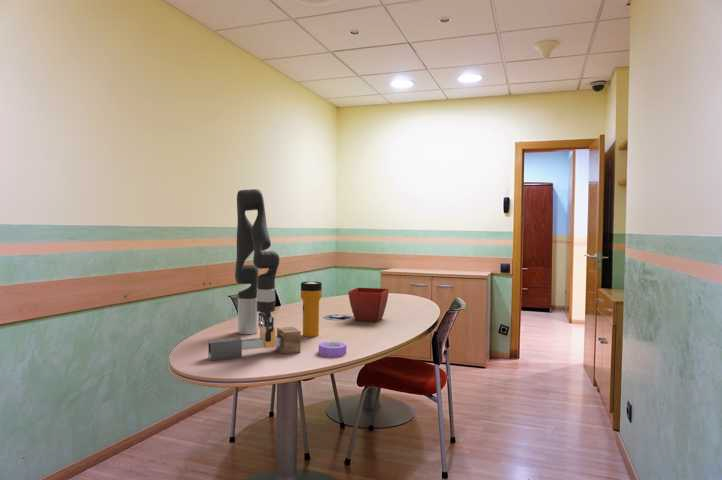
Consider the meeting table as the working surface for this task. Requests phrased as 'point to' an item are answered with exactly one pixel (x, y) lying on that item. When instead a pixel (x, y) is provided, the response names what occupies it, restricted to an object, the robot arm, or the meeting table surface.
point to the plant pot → (368, 303)
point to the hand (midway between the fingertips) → (265, 339)
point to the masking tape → (332, 349)
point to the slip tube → (262, 341)
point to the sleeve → (224, 349)
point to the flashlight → (311, 307)
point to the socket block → (289, 340)
